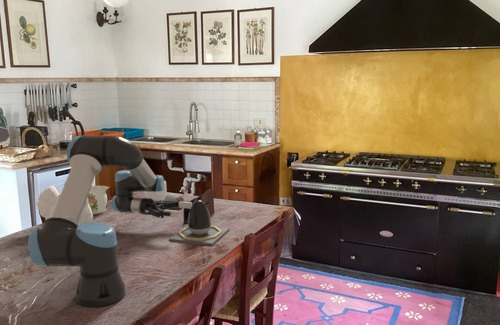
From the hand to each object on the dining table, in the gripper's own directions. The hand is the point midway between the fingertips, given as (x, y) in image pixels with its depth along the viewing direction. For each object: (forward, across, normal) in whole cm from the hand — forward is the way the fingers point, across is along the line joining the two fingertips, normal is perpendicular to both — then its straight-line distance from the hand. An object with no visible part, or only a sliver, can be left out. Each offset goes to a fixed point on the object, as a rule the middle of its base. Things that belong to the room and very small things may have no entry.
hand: (185, 209), depth 200 cm
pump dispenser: (+7, 0, -10) cm, 12 cm away
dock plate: (+7, 0, -11) cm, 13 cm away
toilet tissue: (-43, -48, -12) cm, 66 cm away
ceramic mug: (-25, -37, -12) cm, 46 cm away
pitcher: (-61, -16, -11) cm, 64 cm away
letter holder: (-4, -23, -12) cm, 26 cm away
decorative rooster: (-55, +12, -11) cm, 57 cm away
